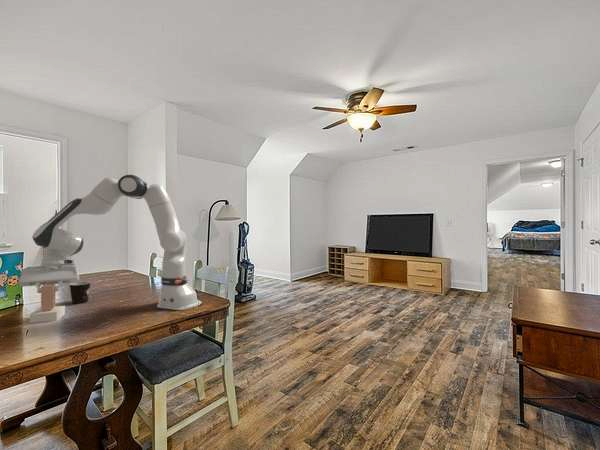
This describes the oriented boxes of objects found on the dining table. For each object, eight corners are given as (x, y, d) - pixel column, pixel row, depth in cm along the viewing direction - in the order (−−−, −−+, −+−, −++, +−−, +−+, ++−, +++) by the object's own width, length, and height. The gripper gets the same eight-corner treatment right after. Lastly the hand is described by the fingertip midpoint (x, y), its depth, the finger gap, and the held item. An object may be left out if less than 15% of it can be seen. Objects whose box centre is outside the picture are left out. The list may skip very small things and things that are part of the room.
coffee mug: (78, 305, 140) (78, 285, 139) (64, 303, 141) (65, 284, 141) (99, 298, 151) (99, 280, 151) (86, 297, 153) (86, 279, 153)
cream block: (65, 314, 128) (65, 305, 128) (56, 321, 120) (56, 312, 120) (40, 316, 125) (40, 307, 124) (29, 323, 116) (29, 314, 116)
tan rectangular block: (55, 305, 125) (55, 283, 125) (53, 308, 121) (53, 285, 121) (43, 307, 123) (43, 284, 122) (41, 309, 119) (41, 286, 119)
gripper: (20, 263, 122) (13, 290, 114) (79, 260, 133) (76, 285, 125) (24, 271, 126) (16, 298, 118) (81, 268, 137) (78, 292, 129)
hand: (48, 291), depth 121 cm, fingers closed on tan rectangular block, 4 cm apart
